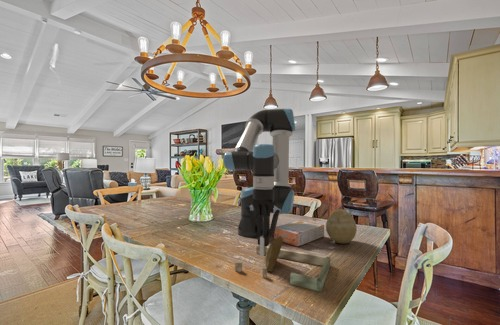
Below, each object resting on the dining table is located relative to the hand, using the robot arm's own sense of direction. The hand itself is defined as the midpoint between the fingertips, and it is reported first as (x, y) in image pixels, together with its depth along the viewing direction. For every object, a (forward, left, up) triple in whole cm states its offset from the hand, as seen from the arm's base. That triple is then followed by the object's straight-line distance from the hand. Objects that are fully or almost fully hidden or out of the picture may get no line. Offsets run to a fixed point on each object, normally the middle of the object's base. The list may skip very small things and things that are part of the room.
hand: (263, 254), depth 84 cm
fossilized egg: (+22, +35, -4) cm, 42 cm away
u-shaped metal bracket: (+7, 0, -4) cm, 8 cm away
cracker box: (+8, +43, -1) cm, 44 cm away
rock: (+2, 0, -4) cm, 4 cm away
